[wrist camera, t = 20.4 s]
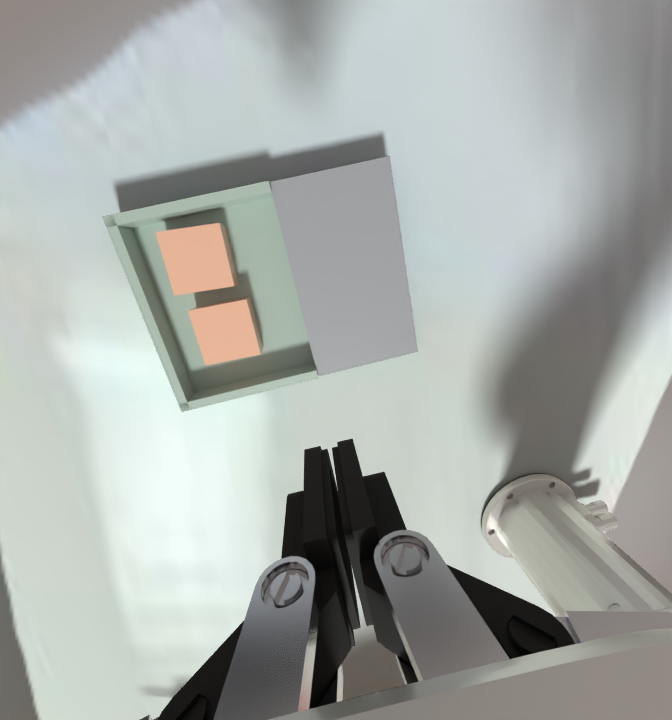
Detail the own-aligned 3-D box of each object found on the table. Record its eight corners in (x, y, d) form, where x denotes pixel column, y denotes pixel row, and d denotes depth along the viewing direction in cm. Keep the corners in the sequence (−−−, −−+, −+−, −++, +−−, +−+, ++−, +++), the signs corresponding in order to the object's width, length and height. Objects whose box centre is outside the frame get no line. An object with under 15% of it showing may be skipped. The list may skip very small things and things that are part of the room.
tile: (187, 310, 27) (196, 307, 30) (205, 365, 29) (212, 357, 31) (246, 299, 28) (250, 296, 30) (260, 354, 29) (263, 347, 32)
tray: (271, 188, 28) (268, 180, 25) (316, 368, 33) (318, 378, 31) (122, 221, 28) (102, 216, 25) (191, 399, 33) (181, 412, 30)
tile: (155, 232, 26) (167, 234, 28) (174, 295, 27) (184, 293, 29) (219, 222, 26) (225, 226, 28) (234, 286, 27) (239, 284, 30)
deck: (381, 164, 29) (389, 155, 26) (409, 345, 34) (417, 351, 32) (271, 188, 28) (269, 182, 26) (316, 368, 33) (318, 376, 31)
